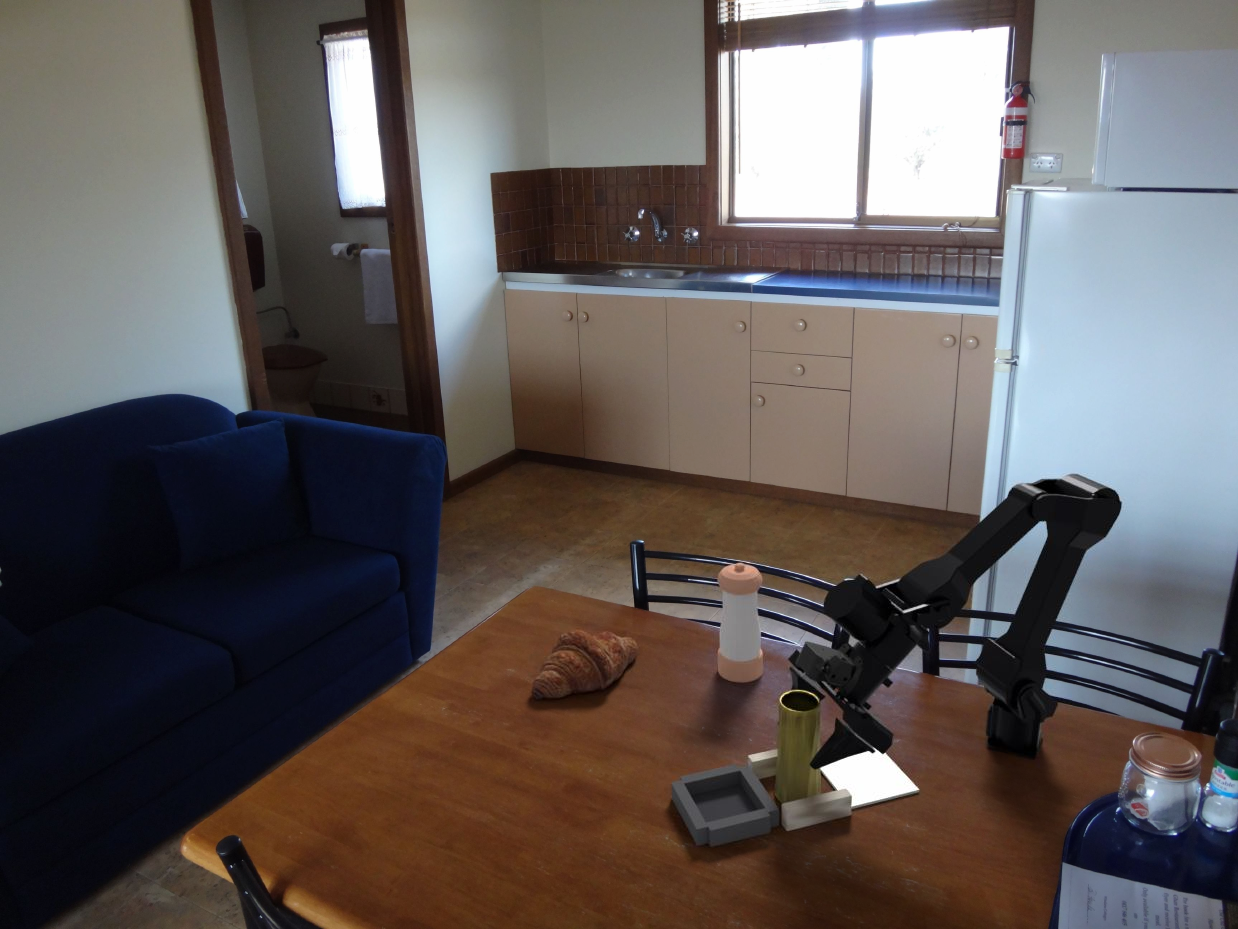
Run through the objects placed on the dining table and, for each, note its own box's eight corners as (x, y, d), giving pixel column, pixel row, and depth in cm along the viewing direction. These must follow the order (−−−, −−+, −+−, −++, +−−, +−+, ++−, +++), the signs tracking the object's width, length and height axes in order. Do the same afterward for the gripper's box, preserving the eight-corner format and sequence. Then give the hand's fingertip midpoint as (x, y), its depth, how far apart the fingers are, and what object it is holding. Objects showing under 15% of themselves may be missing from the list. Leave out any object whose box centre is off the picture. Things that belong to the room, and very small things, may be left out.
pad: (878, 748, 134) (878, 746, 134) (919, 792, 125) (919, 789, 124) (814, 763, 131) (814, 761, 131) (850, 809, 122) (850, 806, 122)
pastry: (552, 647, 165) (549, 606, 162) (640, 650, 163) (638, 608, 160) (530, 702, 149) (526, 657, 147) (627, 705, 147) (625, 660, 145)
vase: (821, 811, 122) (824, 716, 117) (773, 807, 123) (774, 712, 119) (821, 781, 128) (824, 689, 123) (775, 777, 129) (776, 686, 124)
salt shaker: (765, 682, 151) (766, 573, 145) (719, 683, 151) (718, 574, 145) (759, 658, 158) (760, 553, 152) (716, 659, 158) (714, 555, 152)
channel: (807, 760, 132) (808, 742, 131) (851, 815, 121) (852, 795, 120) (747, 774, 130) (747, 755, 129) (786, 831, 119) (787, 811, 118)
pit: (746, 777, 129) (746, 761, 128) (781, 829, 119) (781, 813, 118) (669, 794, 126) (669, 779, 126) (699, 850, 116) (698, 833, 115)
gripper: (802, 592, 127) (726, 679, 128) (876, 660, 110) (787, 760, 111) (853, 635, 132) (779, 718, 133) (931, 706, 115) (845, 801, 116)
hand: (795, 746), depth 123 cm, fingers open, 9 cm apart
